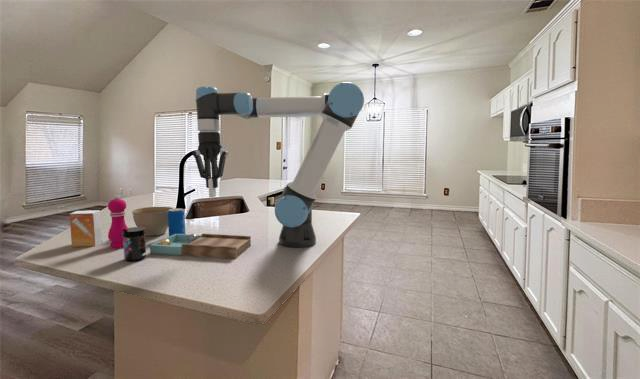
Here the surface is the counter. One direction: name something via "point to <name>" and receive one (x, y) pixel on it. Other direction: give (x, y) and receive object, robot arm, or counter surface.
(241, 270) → the counter surface
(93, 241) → the small box
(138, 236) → the supplement container
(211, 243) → the walnut runway
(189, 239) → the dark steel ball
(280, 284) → the counter surface
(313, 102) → the robot arm
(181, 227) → the beverage can
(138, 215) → the planter bowl
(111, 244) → the pink tall rounded piece
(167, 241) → the brass ball
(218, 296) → the counter surface
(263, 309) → the counter surface
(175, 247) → the tray
